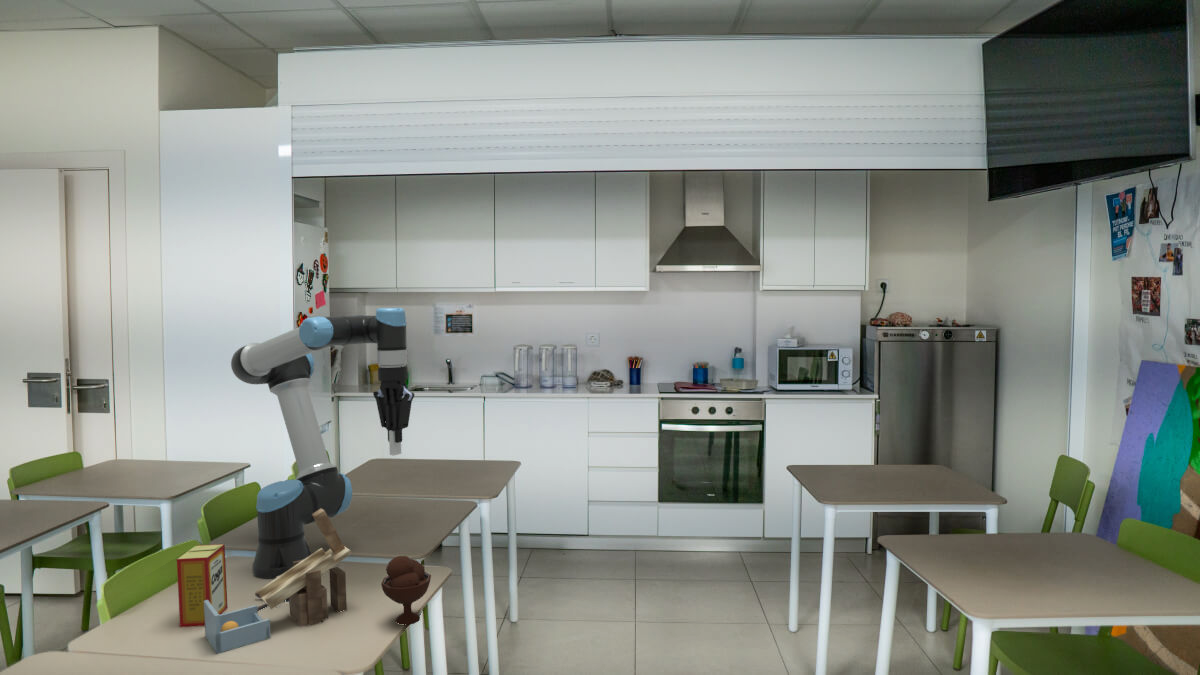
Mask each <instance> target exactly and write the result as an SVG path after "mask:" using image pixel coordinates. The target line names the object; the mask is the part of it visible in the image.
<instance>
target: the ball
mask: <svg viewBox="0 0 1200 675" xmlns="http://www.w3.org/2000/svg"><path fill="white" fill-rule="evenodd" d="M237 627H239V626H238V624H237V623H236V622H234V621H228V622H226V623H225V624H224V625H223V626H222V628H221V632H223V631H226V630H230V629H234V628H237Z"/></svg>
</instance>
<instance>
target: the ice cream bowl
mask: <svg viewBox="0 0 1200 675" xmlns="http://www.w3.org/2000/svg"><path fill="white" fill-rule="evenodd" d="M385 571H386V574H387V576H385V577H384V578H383V579H382V581H381V583H380V585H381V588H382V591H383V593H384V595H385V596H386V597H388V598H389V599H390V600H392V601H393V602H394V603H397V604H399V605H401V604H402V606H403V612H402V613H400V614H399V615H398V616H396V619H395V622H397V623H399V624H404V625H403V626H409V625H415V624H416V623H418V622H419V621H420V620H421V616H420V614H418V613H416V612H413V610H412V605H413V603H414V602H416V601H419V600H420V599H421V598H423V596H424V595H425V594H426V593H427V591H428V588H429V586H430V583H431V577H432V574H430V573H428V572H426V571H425V566H424V565H423V564H422V563H421V562H419V561H418V560H416V559H413V558H410V557H409V556H406V555H398V556H396V557H393V558H392V559H391V560H390V561H389V562H388V563H387V566H386V568H385ZM397 623H396V624H397ZM405 624H406V625H405Z"/></svg>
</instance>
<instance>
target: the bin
mask: <svg viewBox="0 0 1200 675" xmlns="http://www.w3.org/2000/svg"><path fill="white" fill-rule="evenodd" d="M257 607H258V605H257V604H254V605H251V606H248V607H244V608H243V607H242V608H240V609H235V610H232V611H229V612H225V613H224V612H223V613H222V614H220V615H219V614H218V613H217V611H216V610H215V609H214V607H213V606H212V605H211V603H210V602H209V601H208V600H205V601H204V617H205V626H204V633H205V636H206V637H205V638H206V640H207V639H208V640H207V641H208V643H209V644H210V645H211V647H212V649H213V650H214V652H215V654H221V653H223V652H224V653H225V652H228V651H230V650H234V649H237V648H240V647H244V646H247V645H250V644H254V643H258V642H261V641H265V640H267V639H271V619H270V618H267V619H266V618H265V619H263V618H262V617H261V616H260V615H259V611H257ZM228 621H234V622H236V623H237V624H238V626H239V627H237V628H234V629H230V630H226V631H223V632H221V628H222V626H223V625H224V624H225V623H226V622H228Z"/></svg>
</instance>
